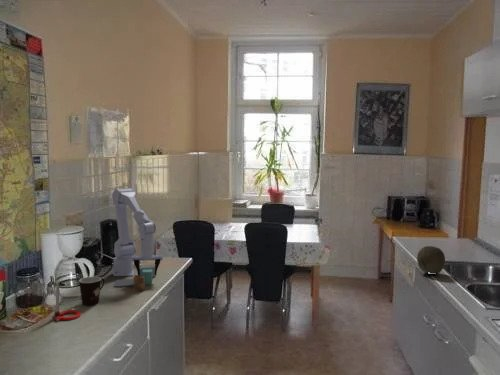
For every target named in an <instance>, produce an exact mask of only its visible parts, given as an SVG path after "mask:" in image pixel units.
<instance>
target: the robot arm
mask: <svg viewBox="0 0 500 375" xmlns="http://www.w3.org/2000/svg"><path fill="white" fill-rule="evenodd" d="M111 197H112V198H111V199H112V204H113V206H114V207H115V208H114V209H115V214H116V216H115V217H116V224H117V230H118V231H117V232H118V239H117V240H116V241H115V242H114V245H113V246H114V249H113V253H114V256H115V257H113V263H112V264H113V266H112V267H113V269H112V270H113V272H112V273H113V275H112V276H113V277H132V276H134V273H135V270H134V267H133V266H135V269H136V272H137V275H140V266H141V261H154V265H155V275H156V276H157V272H158V268H159V266H160V264H161V261H163V260H164V257H163V256H164V255H159V254H158V255H157V254H154V233H156V231H157V230H156V229H157V227H156V224H155V222H154V221H153V220H151V219H149V217H148V215H147V214H146V212H145V211H144V210H142V209H141V208H140V206H139V203H138V201H137V199H136V191H135V190H134V188H132V187H130V188H114V190H113V191H112V196H111ZM127 206H128V207H129V208H130V210H131V211H132V212H133V216H132V217H133V219H134V221H135V222H136V224H137V226H138V229H137V230H138V234H139V239H140V255H136V253H137V246H136V244H135V240H134V239H133V238H131V237H130V232H129V231H130V230H129V223H128V222H129V221H128V215H127V214H128V213H127V212H128V211H127Z"/></svg>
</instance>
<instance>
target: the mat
mask: <svg viewBox="0 0 500 375" xmlns="http://www.w3.org/2000/svg"><path fill="white" fill-rule="evenodd" d="M131 287H133V288H134V278H127V279H126V278H123V279H116V280H115V281H114V284H113V287H112V288H131Z"/></svg>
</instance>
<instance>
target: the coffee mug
mask: <svg viewBox="0 0 500 375" xmlns="http://www.w3.org/2000/svg"><path fill="white" fill-rule="evenodd" d="M78 285H79V290H80V297H81V298H80V299H81V304H82V306H84V307H92V306H96V305H99V303H100V296H101V295H100V294H101V290H102V289H103V287H104V286H105V279H104V278H101V277H100V276H86V277H82V278H80V279H79V280H78Z"/></svg>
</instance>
